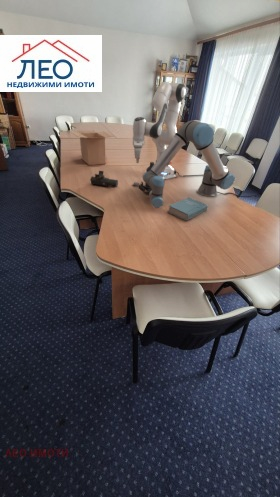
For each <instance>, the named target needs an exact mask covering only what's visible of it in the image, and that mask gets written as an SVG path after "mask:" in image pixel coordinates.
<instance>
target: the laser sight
mask: <svg viewBox="0 0 280 497" xmlns="http://www.w3.org/2000/svg"><path fill="white" fill-rule="evenodd" d="M89 181H90V184H91V185H94V186H101V187H112V188H113V187H114V188H117V187H118V186H119V179H114V178H109V177H105V175H104V170H98V174H97V173H95V174H94V176H90V180H89Z"/></svg>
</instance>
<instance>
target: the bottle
mask: <svg viewBox="0 0 280 497" xmlns="http://www.w3.org/2000/svg"><path fill="white" fill-rule="evenodd" d="M154 164H155V162H154V161H150V162H149V166H148V167H146V171H145V172H149V171H150V170H151V168H152V167H153V166H154ZM144 186H146V187H150V186H149V185H148V184H146V183H145V182H144ZM150 188H151V187H150ZM144 194H145V195H147V196H149V194H148V193H147V192H145V193H144Z"/></svg>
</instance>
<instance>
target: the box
mask: <svg viewBox="0 0 280 497" xmlns="http://www.w3.org/2000/svg"><path fill="white" fill-rule="evenodd" d="M70 133H71V134H72V135H74V136H75V137H77V138H79V144H80V153H81V160H83V162H85V163H86V165H87V166H95V165H97V166H98V165H106V163H107V162H106V158H107V157H106V138H113V137H114V136H113V135H111V134H109V133H108V132H105V131H98V132H96V131H95V130H92V129H91V130H77V132H76V131H70Z"/></svg>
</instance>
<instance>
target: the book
mask: <svg viewBox="0 0 280 497" xmlns="http://www.w3.org/2000/svg"><path fill="white" fill-rule="evenodd" d="M207 210H208V205H207V203H204V202H202V201H199V200H196V199H194V198H191V197H189V196H188V197H186V198H183V199H180V200H179V201H176V202H174V203H171V204H169V205H168V210H167V213H168V214H171V215H173V216H175V217H176V218H179V219H181V220H184V221H185V222H187V221H189V220H191V219H192V218H195V217H197V216H199V215H200V214H202V213H205V212H207Z"/></svg>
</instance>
